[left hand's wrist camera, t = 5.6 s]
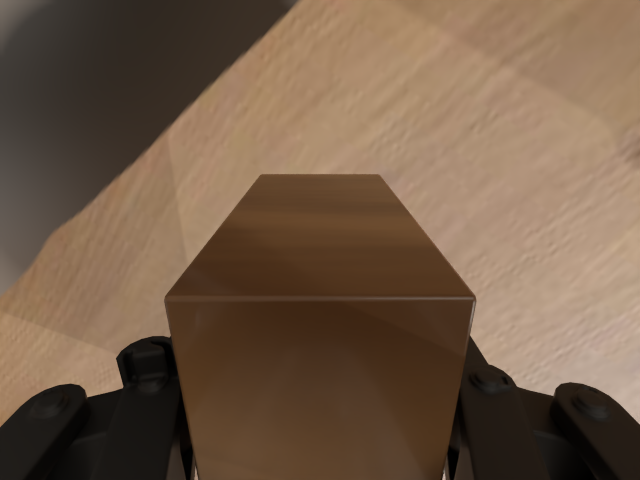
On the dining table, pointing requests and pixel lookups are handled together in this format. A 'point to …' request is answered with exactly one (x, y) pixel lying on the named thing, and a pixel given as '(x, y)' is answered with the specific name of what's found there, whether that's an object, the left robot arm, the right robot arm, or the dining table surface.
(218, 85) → the dining table surface
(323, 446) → the bar
